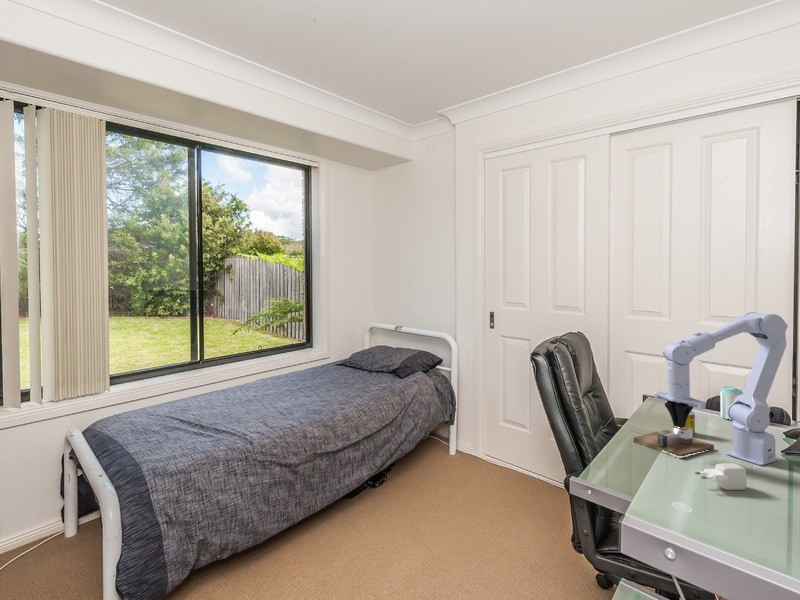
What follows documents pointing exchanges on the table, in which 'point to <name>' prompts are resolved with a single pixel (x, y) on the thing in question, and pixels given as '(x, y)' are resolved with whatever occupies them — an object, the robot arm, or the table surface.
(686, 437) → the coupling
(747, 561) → the table surface
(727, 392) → the can
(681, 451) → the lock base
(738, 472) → the power adapter
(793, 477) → the table surface
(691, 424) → the supplement bottle
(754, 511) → the table surface
